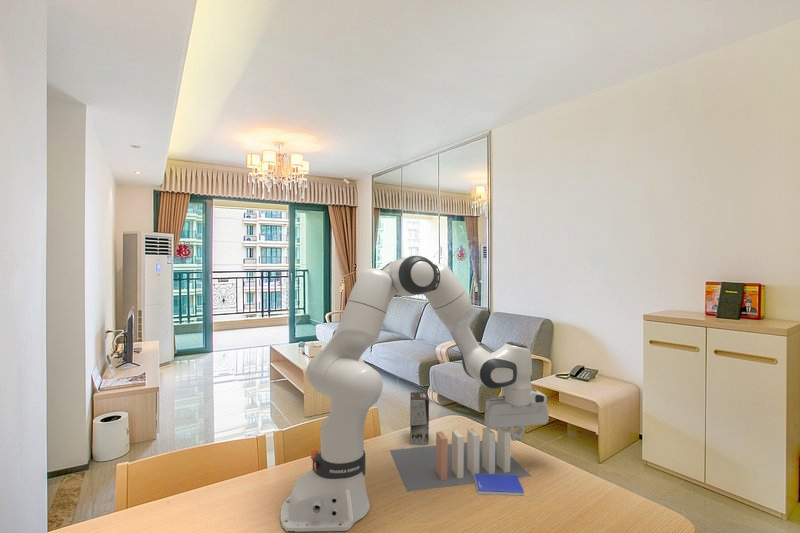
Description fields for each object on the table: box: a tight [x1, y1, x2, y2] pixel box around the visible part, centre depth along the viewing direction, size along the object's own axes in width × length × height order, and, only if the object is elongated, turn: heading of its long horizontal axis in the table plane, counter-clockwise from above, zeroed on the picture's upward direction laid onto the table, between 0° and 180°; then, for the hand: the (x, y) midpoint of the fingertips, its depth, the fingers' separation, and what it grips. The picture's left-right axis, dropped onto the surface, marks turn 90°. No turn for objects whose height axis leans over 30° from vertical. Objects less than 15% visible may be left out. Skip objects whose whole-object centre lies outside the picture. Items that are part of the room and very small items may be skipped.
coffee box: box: [409, 391, 430, 446], centre depth 144 cm, size 9×6×16 cm
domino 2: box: [466, 428, 481, 476], centre depth 122 cm, size 2×5×12 cm, turn 12°
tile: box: [435, 431, 448, 480], centre depth 120 cm, size 2×5×12 cm, turn 13°
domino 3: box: [481, 426, 496, 474], centre depth 123 cm, size 2×5×12 cm, turn 13°
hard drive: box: [474, 473, 525, 496], centre depth 114 cm, size 2×8×12 cm
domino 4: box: [496, 428, 511, 472], centre depth 124 cm, size 2×5×12 cm, turn 13°
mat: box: [389, 440, 532, 492], centre depth 128 cm, size 38×25×1 cm, turn 103°
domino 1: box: [451, 429, 465, 478], centre depth 121 cm, size 2×5×12 cm, turn 12°
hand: (516, 439), depth 125 cm, fingers closed
